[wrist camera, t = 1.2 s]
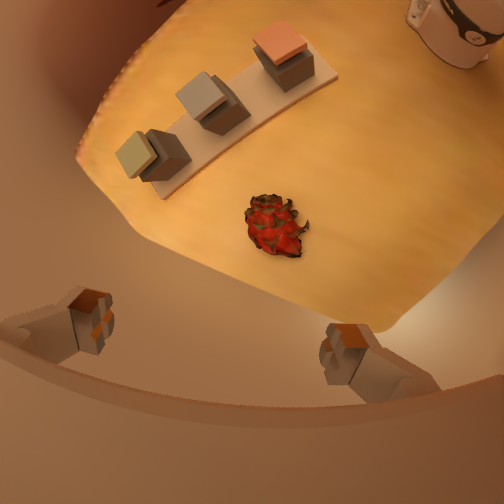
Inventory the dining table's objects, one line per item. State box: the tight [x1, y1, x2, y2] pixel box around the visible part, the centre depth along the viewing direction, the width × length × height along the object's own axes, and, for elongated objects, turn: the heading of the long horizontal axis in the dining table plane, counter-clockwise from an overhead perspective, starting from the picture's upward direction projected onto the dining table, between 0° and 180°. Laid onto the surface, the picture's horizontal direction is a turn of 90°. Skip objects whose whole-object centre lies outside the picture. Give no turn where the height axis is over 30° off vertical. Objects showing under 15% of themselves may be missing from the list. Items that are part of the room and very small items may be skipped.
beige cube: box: [175, 71, 228, 121], centre depth 33 cm, size 5×5×5 cm
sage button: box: [115, 131, 158, 179], centre depth 37 cm, size 5×5×5 cm
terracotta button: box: [252, 20, 308, 66], centre depth 28 cm, size 5×5×5 cm
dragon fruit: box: [245, 194, 309, 258], centre depth 43 cm, size 8×8×12 cm
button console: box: [139, 35, 338, 200], centre depth 38 cm, size 38×10×10 cm, turn 124°
